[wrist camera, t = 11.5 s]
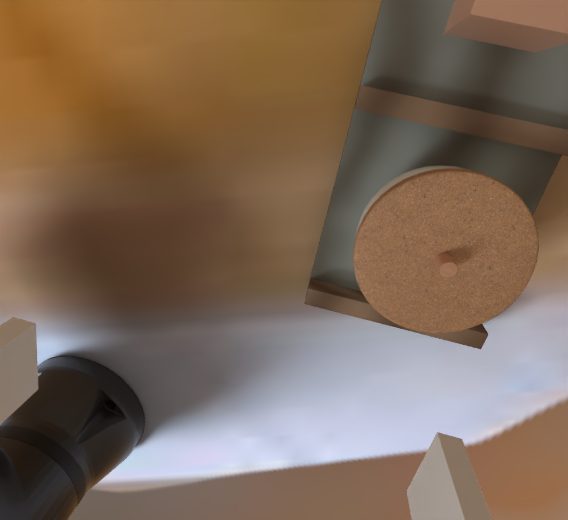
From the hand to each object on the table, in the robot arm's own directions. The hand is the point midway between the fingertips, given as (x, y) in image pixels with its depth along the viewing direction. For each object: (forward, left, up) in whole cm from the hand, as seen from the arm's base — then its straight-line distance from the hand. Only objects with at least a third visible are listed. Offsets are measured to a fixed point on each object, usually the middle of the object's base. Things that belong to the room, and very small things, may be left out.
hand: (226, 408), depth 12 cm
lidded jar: (+9, +2, -22) cm, 24 cm away
